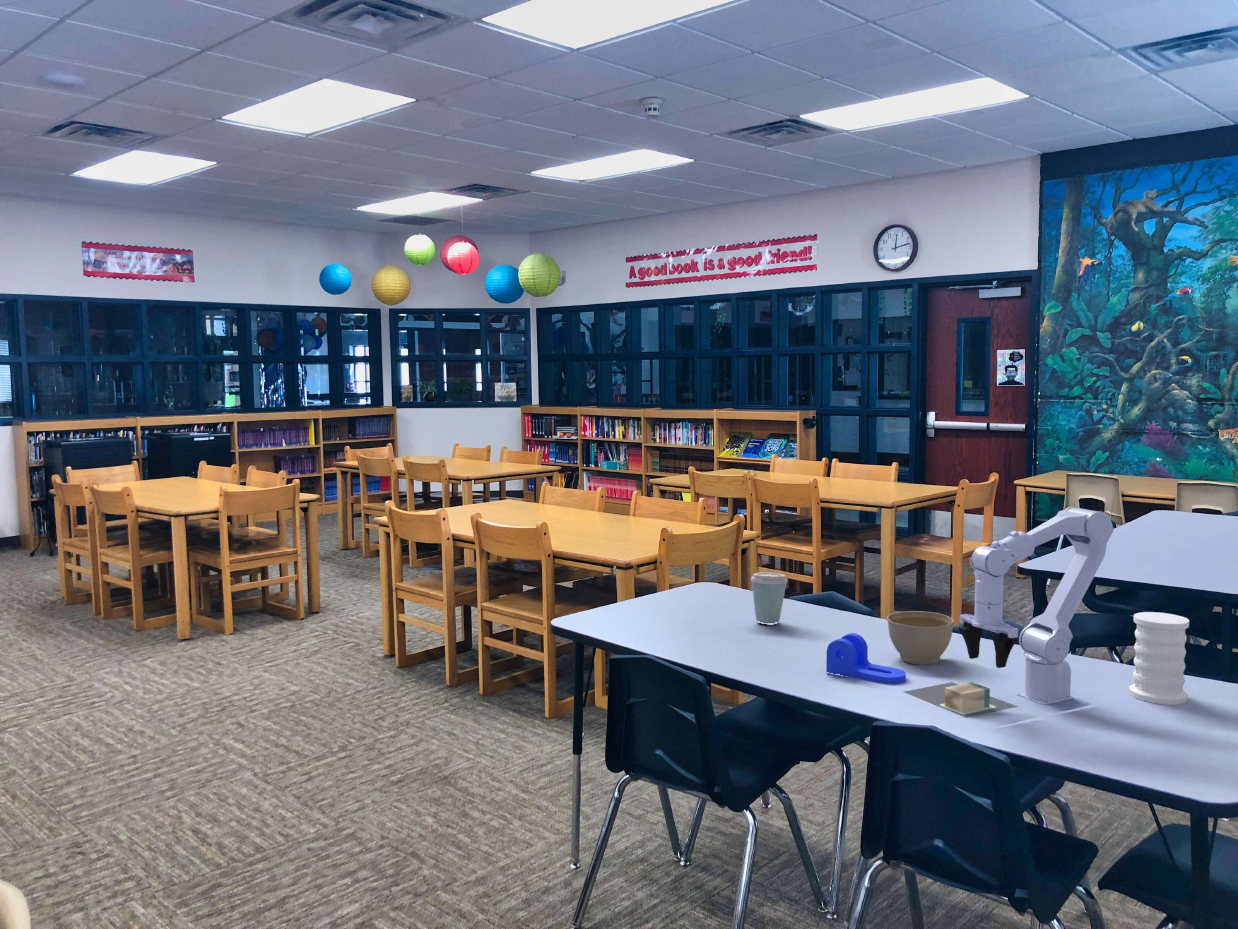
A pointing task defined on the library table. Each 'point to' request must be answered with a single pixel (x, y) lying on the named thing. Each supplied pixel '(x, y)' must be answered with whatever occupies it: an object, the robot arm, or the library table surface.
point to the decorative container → (1159, 658)
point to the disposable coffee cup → (768, 596)
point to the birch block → (967, 697)
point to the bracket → (858, 661)
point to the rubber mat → (938, 698)
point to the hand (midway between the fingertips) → (987, 662)
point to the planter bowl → (920, 635)
